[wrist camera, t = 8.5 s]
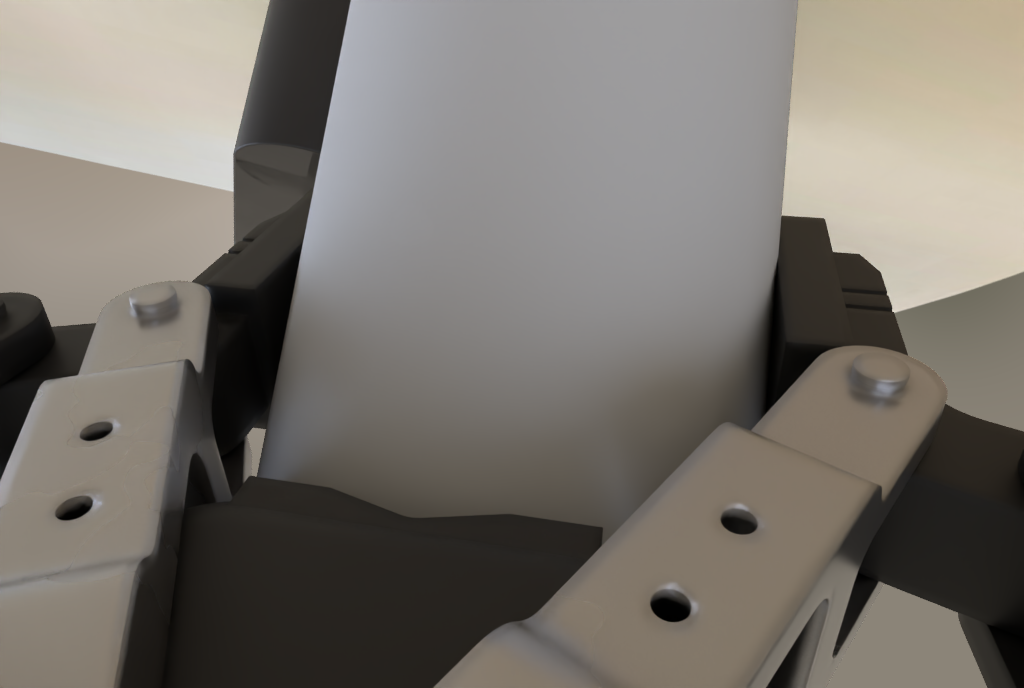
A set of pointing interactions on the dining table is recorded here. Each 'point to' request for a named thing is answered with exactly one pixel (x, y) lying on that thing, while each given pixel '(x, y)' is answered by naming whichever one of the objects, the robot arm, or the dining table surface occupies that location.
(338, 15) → the bin
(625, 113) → the travel mug
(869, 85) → the dining table surface
